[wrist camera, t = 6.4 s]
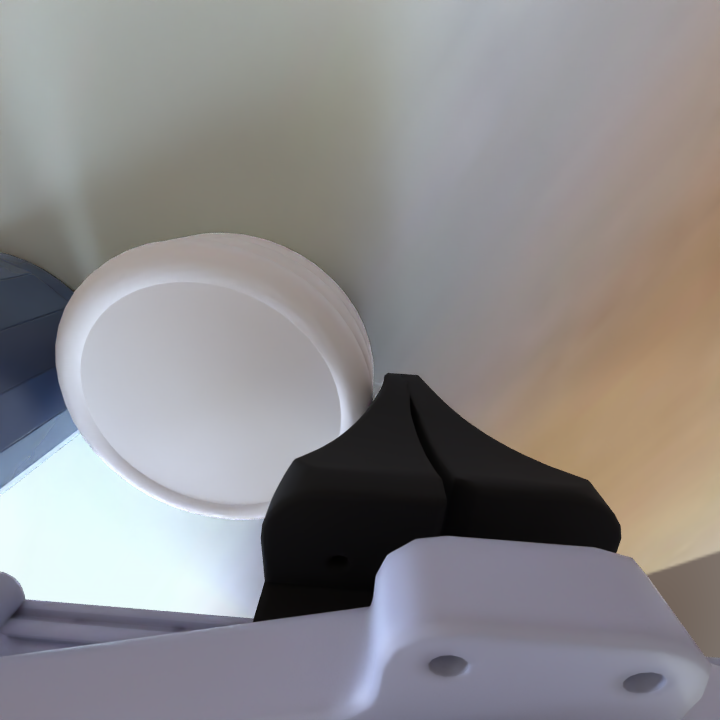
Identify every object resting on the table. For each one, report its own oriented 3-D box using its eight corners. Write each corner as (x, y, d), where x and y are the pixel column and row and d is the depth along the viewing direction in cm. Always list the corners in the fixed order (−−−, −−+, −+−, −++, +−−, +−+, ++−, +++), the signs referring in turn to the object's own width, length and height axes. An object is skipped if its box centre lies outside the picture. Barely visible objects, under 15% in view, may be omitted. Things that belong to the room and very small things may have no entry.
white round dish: (105, 207, 12) (1, 209, 8) (397, 258, 12) (404, 279, 9) (137, 443, 16) (76, 504, 13) (353, 477, 16) (346, 546, 13)
